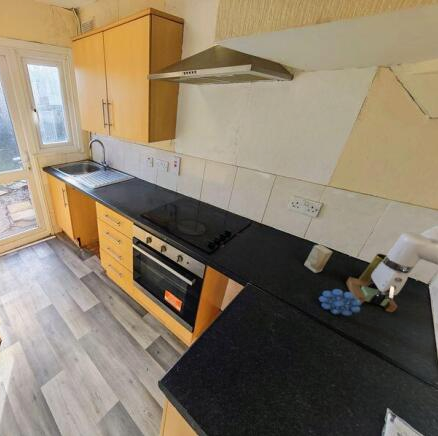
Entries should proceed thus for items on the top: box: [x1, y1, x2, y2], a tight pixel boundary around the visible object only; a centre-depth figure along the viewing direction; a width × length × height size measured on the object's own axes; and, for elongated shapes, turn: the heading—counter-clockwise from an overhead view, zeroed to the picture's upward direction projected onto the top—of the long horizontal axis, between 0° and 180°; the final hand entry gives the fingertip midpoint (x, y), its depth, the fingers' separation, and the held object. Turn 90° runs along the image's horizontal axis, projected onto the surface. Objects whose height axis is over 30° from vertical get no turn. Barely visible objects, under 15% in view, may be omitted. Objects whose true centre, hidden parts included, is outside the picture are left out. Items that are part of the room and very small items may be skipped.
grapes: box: [318, 288, 363, 317], centre depth 85 cm, size 12×7×12 cm, turn 46°
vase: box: [358, 253, 387, 282], centre depth 99 cm, size 6×6×14 cm
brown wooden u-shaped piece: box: [345, 276, 398, 313], centre depth 94 cm, size 12×12×4 cm
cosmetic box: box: [303, 243, 333, 274], centre depth 107 cm, size 6×4×12 cm
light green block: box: [361, 286, 389, 307], centre depth 92 cm, size 7×5×4 cm
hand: (371, 297), depth 92 cm, fingers closed on light green block, 4 cm apart
